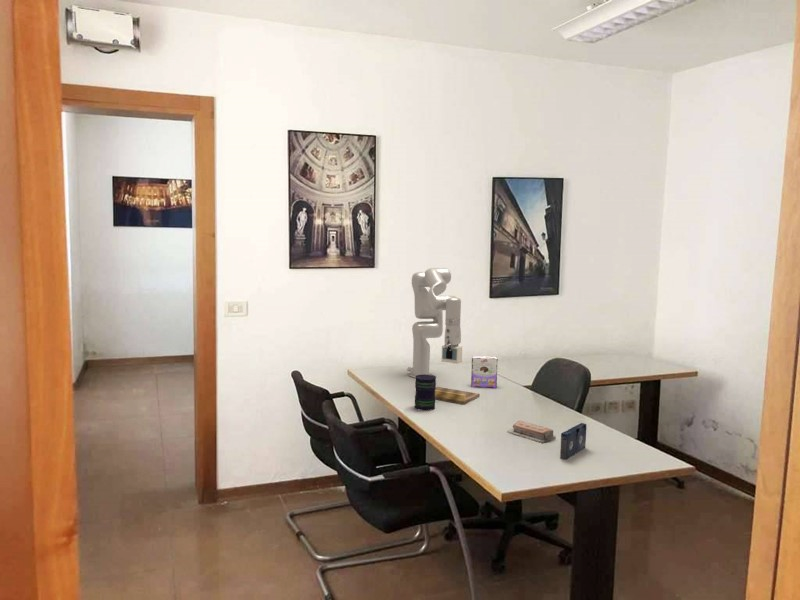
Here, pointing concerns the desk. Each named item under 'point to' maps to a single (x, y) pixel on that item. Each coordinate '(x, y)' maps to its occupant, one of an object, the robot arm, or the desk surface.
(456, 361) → the cream carton
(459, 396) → the shelf board
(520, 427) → the packaged product
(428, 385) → the storage jar
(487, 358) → the candy box
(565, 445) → the vhs cassette tape
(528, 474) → the desk surface
